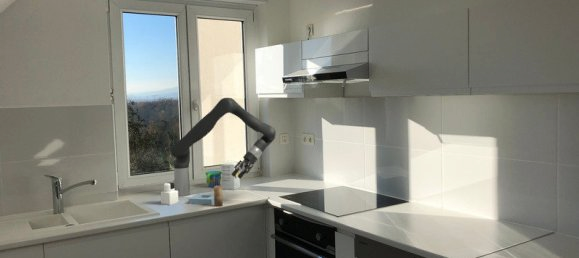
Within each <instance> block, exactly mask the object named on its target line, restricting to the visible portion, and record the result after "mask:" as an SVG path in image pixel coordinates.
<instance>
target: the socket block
mask: <svg viewBox="0 0 579 258" xmlns="http://www.w3.org/2000/svg"><path fill="white" fill-rule="evenodd" d="M188 204H189V205H214V193H197V194H194V195H193V196H191V197H189V198H188Z"/></svg>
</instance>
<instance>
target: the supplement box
mask: <svg viewBox="0 0 579 258" xmlns="http://www.w3.org/2000/svg"><path fill="white" fill-rule="evenodd" d="M237 163H238V162H225V163H221V165H220V167H221V170H220V171H221V172H222V174H221V186H222V190H226V191H227V190H228V191H229V190H231V191H235V190H237V189H239V188H240V187H241V185H240V184H241V179H240V178H239V177H238V175H239V174H240V173H241V170H240V171H238V173H237V174H236V175H235V176H232V175H231V174H232V173H233V171H234V170H235V168H234V167H235V166H236V165H237ZM240 189H241V188H240Z"/></svg>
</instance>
